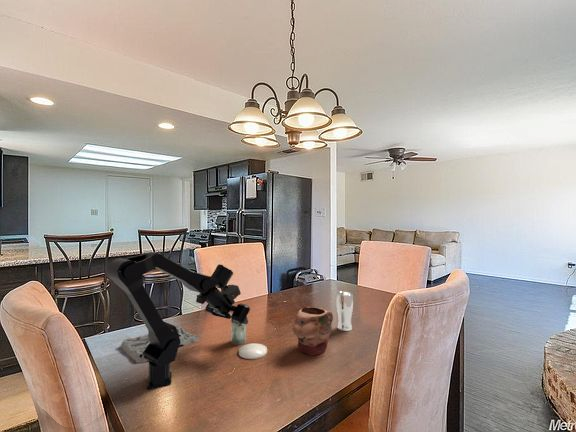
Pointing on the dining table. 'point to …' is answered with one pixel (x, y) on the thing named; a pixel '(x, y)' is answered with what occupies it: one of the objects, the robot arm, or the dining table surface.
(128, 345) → the wall plaque
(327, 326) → the decorative planter
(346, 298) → the beer glass
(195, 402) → the dining table surface
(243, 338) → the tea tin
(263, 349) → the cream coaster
